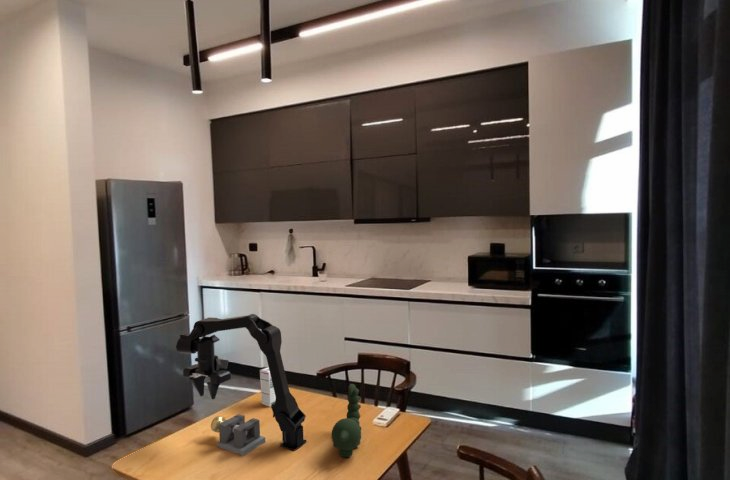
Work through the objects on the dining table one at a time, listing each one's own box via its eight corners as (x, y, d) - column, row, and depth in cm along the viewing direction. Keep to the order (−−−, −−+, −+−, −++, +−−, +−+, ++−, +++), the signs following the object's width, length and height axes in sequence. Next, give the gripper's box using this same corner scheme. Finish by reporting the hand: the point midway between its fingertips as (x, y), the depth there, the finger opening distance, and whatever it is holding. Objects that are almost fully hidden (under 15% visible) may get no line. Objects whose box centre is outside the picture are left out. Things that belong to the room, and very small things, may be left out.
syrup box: (270, 407, 173) (269, 372, 172) (260, 404, 176) (259, 369, 176) (281, 402, 177) (279, 368, 177) (271, 399, 181) (270, 365, 181)
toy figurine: (341, 433, 153) (326, 466, 128) (341, 379, 154) (326, 402, 129) (367, 434, 152) (357, 467, 127) (367, 380, 153) (356, 402, 128)
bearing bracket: (265, 441, 145) (264, 420, 145) (243, 455, 137) (242, 432, 136) (240, 433, 151) (239, 413, 151) (217, 446, 143) (216, 424, 142)
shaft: (252, 437, 145) (252, 422, 144) (241, 443, 140) (241, 428, 140) (222, 427, 152) (221, 413, 152) (211, 433, 148) (210, 419, 147)
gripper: (242, 351, 153) (243, 394, 154) (206, 345, 163) (208, 385, 163) (217, 360, 144) (219, 405, 144) (181, 353, 153) (183, 396, 154)
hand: (207, 397), depth 152 cm, fingers open, 6 cm apart
